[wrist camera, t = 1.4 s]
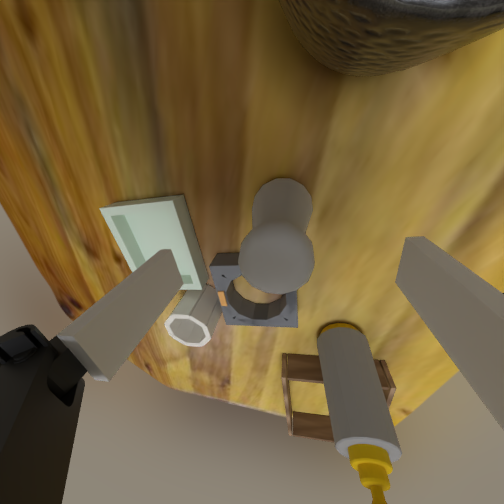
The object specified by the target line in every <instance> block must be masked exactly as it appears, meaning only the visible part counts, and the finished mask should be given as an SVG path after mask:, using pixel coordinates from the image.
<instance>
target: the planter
mask: <svg viewBox="0 0 504 504" xmlns="http://www.w3.org/2000/svg"><path fill="white" fill-rule="evenodd" d="M279 2H280V4H281V7H282V9H283V11H284V13H285V16H286V18H287V20H288V22H289V25H290V27H291V29H292V31H293V33H294V34H295V36H296V37H297V39H298V40H299V42H300V43H301V45H302V46H303V47H304V48H305V49H306V50H307V51H308V53H309V54H310V55H311V56H312V57H313V58H314V59H316V60H317V61H319V62H320V63H322V64H323V65H324V66H326V67H327V68H330V69H332V70H335V71H337V72H339V73H342V74H347V75H353V76H376V75H382V74H387V73H391V72H396V71H401V70H405V69H408V68H410V67H413V66H416V65H418V64H421V63H424V62H426V61H429V60H431V59H434V58H437V57H439V56H442V55H444V54H447V53H449V52H451V51H454V50H456V49H458V48H461V47H463V46H465V45H468V44H470V43H472V42H474V41H477V40H479V39H481V38H484V37H486V36H488V35H490V34H492V33H494V32H496V31H499V30H501V29H503V28H504V0H279Z"/></svg>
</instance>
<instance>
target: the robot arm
mask: <svg viewBox="0 0 504 504" xmlns="http://www.w3.org/2000/svg"><path fill="white" fill-rule="evenodd" d="M395 283H396V284H397V285H398V287H399V288H400V289H401V291H402V292H403V293H404V295H405V296H406V298H407V299H408V300H409V302H410V303H411V304H412V306H413V307H414V309H415V310H416V311H417V313H418V314H419V315H420V317H421V318H422V320H423V321H424V322H425V324H426V325H427V326H428V328H429V329H430V330H431V332H432V333H433V335H434V336H435V337H436V339H437V340H438V341H439V343H440V344H441V346H442V347H443V348H444V350H445V351H446V352H447V354H448V355H449V357H450V358H451V359H452V361H453V362H454V363H455V365H456V366H457V367H458V369H459V370H460V372H461V373H462V374H463V376H464V377H465V378H466V380H467V381H468V382H469V384H470V385H471V387H472V388H473V389H474V391H475V392H476V393H477V394H478V396H479V398H480V399H481V400H482V402H483V403H484V404H485V405H486V407H487V409H488V410H489V411H490V413H491V414H492V415H493V417H494V418H495V420H496V421H497V422H498V424H499V425H500V426H501V427H502V429H503V430H504V293H501V292H500V291H498V290H497V289H496V288H494V287H493V286H492V285H490V284H489V283H487V282H486V281H485V280H483V279H482V278H481V277H479V276H478V275H476V274H475V273H474V272H472V271H471V270H470V269H468V268H467V267H465V266H464V265H463V264H461V263H460V262H458V261H457V260H456V259H454V258H453V257H452V256H450V255H449V254H447V253H446V252H445V251H443V250H442V249H441V248H439V247H438V246H436V245H435V244H434V243H432V242H431V241H429V240H428V239H427V238H425V237H424V236H421V237H406V239H405V243H404V247H403V251H402V256H401V260H400V264H399V268H398V273H397V277H396V281H395ZM183 284H184V283H183V280H182V277H181V275H180V272H179V269H178V266H177V264H176V261H175V258H174V256H173V253H172V250H171V249H161V250H159V251H158V252H157V253H156V254H154V255H153V256H152V257H151V258H150V259H148V260H147V261H146V262H145V263H144V264H142V265H141V266H140V267H139V268H138V269H136V270H135V271H134V272H133V273H131V274H130V275H129V276H128V277H127V278H125V279H124V280H123V281H122V282H121V283H119V284H118V285H117V286H116V287H114V288H113V289H112V290H111V291H110V292H108V293H107V294H106V295H105V296H104V297H102V298H101V299H100V300H99V301H98V302H96V303H95V304H94V305H93V306H91V307H90V308H89V309H88V310H87V311H85V312H84V313H83V314H82V315H81V316H79V317H78V318H77V319H76V320H74V321H73V322H72V323H71V324H70V325H69V326H67V327H66V328H65V329H64V330H62V331H61V332H60V333H59V334H58V335H56V336H55V337H54V338H53V339H51V340H50V341H48V340H47V339H46V337H45V336H44V335H43V334H42V333H41V332H40V331H39V330H38V329H37V327H36V326H34V325H25V326H21V327H18V328H16V329H14V330H12V331H10V332H8V333H6V334H4V335H2V336H0V504H62V499H63V494H64V489H65V484H66V479H67V474H68V468H69V463H70V458H71V453H72V448H73V443H74V438H75V432H76V428H77V423H78V417H79V412H80V407H81V402H82V397H83V392H84V387H85V381H84V380H83V378H82V377H83V376H84V374H85V373H86V372H87V371H88V373H89V374H90V375H91V376H92V377H93V378H94V379H95V380H100V381H110V380H111V379H112V377H113V376H114V375H115V374H116V372H117V371H118V370H119V368H120V367H121V366H122V364H123V363H124V362H125V360H126V359H127V358H128V357H129V355H130V354H131V353H132V351H133V350H134V349H135V347H136V346H137V345H138V343H139V342H140V341H141V339H142V338H143V337H144V335H145V334H146V333H147V332H148V330H149V329H150V328H151V326H152V325H153V324H154V322H155V321H156V320H157V318H158V317H159V316H160V314H161V313H162V312H163V310H164V309H165V308H166V307H167V305H168V304H169V303H170V301H171V300H172V299H173V297H174V296H175V295H176V293H177V292H178V291H179V289H180V288H181V287H182V285H183Z"/></svg>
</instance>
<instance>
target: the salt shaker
mask: <svg viewBox="0 0 504 504" xmlns="http://www.w3.org/2000/svg"><path fill="white" fill-rule="evenodd" d="M312 211H313V207H312V198H311V195H310V194H309V193H308V191H307V190H306V188H305V187H304V186H303V185H302V184H300V183H298V182H296V181H294V180H293V179H291V178H277V179H274V180H272V181H270V182H268V183H266V184H264V185H263V186H262V187H261V188H260V190H259V191H258V192H257V194H256V195H255V198H254V202H253V207H252V226H253V229H252V230H251V231H250V232H249V234H248V235H247V236H246V237H245V238H244V240H243V242H242V243H241V248H240V253H239V259H238V264H239V267H240V270H241V273H242V276H243V277H244V278H245V279H246V280H247V281H248V282H249V283H250V284H251V285H252V287H255V288H257V289H259V290H261V291H263V292H266V293H273V294H285V293H288V292H292V291H296V290H297V289H299V288H300V287H301V286H303V285H304V284H305V283H306V282H308V280H309V278H310V276H311V273H312V271H313V268H314V263H315V261H314V252H313V245H312V242H311V240H310V239H309V238H308V237H307V235H306V230H307V227H308V223H309V220H310V217H311V214H312Z"/></svg>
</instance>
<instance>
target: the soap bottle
mask: <svg viewBox="0 0 504 504" xmlns="http://www.w3.org/2000/svg"><path fill="white" fill-rule="evenodd" d="M317 348H318V353H319V359H320V365H321V370H322V376H323V381H324V387H325V393H326V398H327V404H328V409H329V415H330V420H331V426H332V432H333V437H334V443H335V448H336V449H337V450H338V452H339V453H340V454H342V455H343V456H345V457H347V458H349V459H350V464H351V466H352V467H353V468H354V469H355V470H357V471H358V472H359V476H360V481H361V483H362V485H363V486H364V487H366V488H368V489H370V490H371V493H372V498H373V501H372V504H387V503H386V501H385V497H384V494H383V491H387V490H389V489H390V483H389V479H388V475H387V474H390V473H391V472H392V470H393V468H392V464H391V463H392V462H394V461H397V460H399V458H400V457H401V455H402V452H401V448H400V445H399V442H398V439H397V435H396V433H395V429H394V425H393V422H392V419H391V416H390V412H389V409H388V406H387V403H386V399H385V396H384V393H383V389H382V386H381V383H380V380H379V376H378V373H377V370H376V367H375V363H374V360H373V357H372V354H371V350H370V347H369V344H368V341H367V339H366V337H365V335H363V334H362V333H361V332H359V331H358V329H356V328H355V327H354V326H352V325H349V324H346V323H335V324H331V325H328V326H327V327H325V328H324V329H323V330H322V331H321V335H320V336H319V337H318V339H317Z"/></svg>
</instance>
